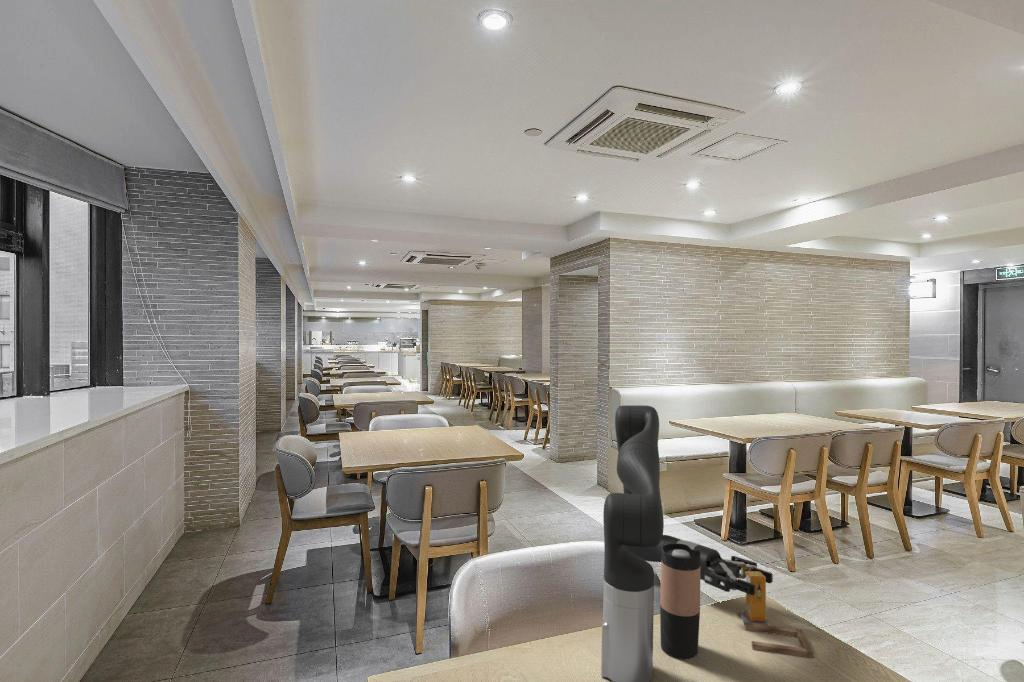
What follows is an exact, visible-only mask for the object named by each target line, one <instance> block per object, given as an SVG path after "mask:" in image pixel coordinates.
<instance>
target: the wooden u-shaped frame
mask: <svg viewBox="0 0 1024 682" xmlns="http://www.w3.org/2000/svg"><path fill="white" fill-rule="evenodd" d="M744 628H745V630H746V631H752V632H757V631H758V633H765V632H767V633H766V634H773V633H775V634H773V635H780V634H783V635H782V636H787V635H790V636H789V637H794V636H795V637H796V638H797V639H798V642H799V644H800V645H801V647H798V646H790V645H785V644H784V645H783V644H775V643H770V642H769V643H768V642H761V641H754V640H751V648H752V650H756V651H763V652H768V653H769V652H771V653H777V654H784V655H792V656H796V657H797V656H799V657H804V658H805V657H806V658H810V659H811V658H815V652H814V650H813V649H812V647H811V644H810V643H809V640H808V639H807V638H806V637H807V636H806V635H805V634H804V632H803V630H802V629H796V628H791V627H784V626H783V627H782V626H777V625H769V626H768V625H761V624H753V623H746V622H745V625H744Z"/></svg>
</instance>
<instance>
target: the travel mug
mask: <svg viewBox="0 0 1024 682" xmlns="http://www.w3.org/2000/svg"><path fill="white" fill-rule="evenodd" d="M660 563H661V568H660V592H659V593H660V594H659V595H660V596H659V598H660V599H659V603H660V605H659V606H660V607H659V610H660V611H659V614H660V615H659V618H660V621H659V622H660V624H659V625H660V629H659V630H660V648H661V650H662V651H663V652H664V653H665V655H667V656H669V657H671V658H674V659H678V660H692V659H693V658H695V657H696V656H697V655H698V652H699V651H698V650H699V649H698V648H699V634H700V620H701V619H700V618H701V616H700V615H701V614H700V613H701V579H700V563H701V555H700V551H699V550H697V551H695V550H692V549H691V548H690V547H689V546H688V545H685V544H678V543H672V544H667V545H664V546H663V547H662V559H661V562H660Z"/></svg>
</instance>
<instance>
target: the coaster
mask: <svg viewBox="0 0 1024 682" xmlns="http://www.w3.org/2000/svg"><path fill="white" fill-rule="evenodd" d="M739 614H740V617H741V619H742V623H743V625H744V626H745V622H746V623H753V624H761V625H768V626H770V625H769V623H768V621H767V619H766V622H756V621H754V622H753V621H751V620H750V619H749V618H748V616H747V614H746V610H745V611H744V610H740V611H739Z"/></svg>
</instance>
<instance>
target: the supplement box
mask: <svg viewBox="0 0 1024 682" xmlns="http://www.w3.org/2000/svg"><path fill="white" fill-rule="evenodd" d="M745 581H746V582H749V583H752V584H754V585H755V586H756V593H755V594H754V595H750V594H747V593H745V594H746V595H745V598H746V599H745V602H746V605H745V609H746V610H745V611H746V614H747V616H748V618H749V619H750V620H751V621H753V622H754V621H756V622H766V620H767V617H766V612H767V611H766V609H767V607H766V606H767V605H766V604H767V602H766V600H767V599H766V597H767V592H766V591H767V590H766V589H767V585H766V584H767V582H766V577H765V576H764V575H763V574H762V573H761V572H760V571H746V578H745Z"/></svg>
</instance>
